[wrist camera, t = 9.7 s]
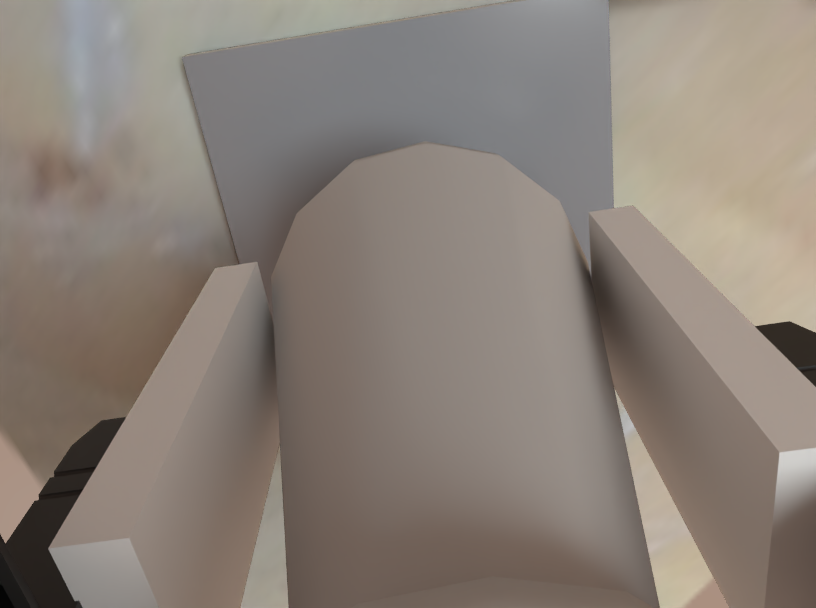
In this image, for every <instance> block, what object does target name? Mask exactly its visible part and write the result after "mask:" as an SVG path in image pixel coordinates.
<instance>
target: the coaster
mask: <svg viewBox="0 0 816 608" xmlns="http://www.w3.org/2000/svg"><path fill="white" fill-rule="evenodd" d="M182 60H183V64H184V67H185V71H186V74H187V78H188V82H189V85H190V89H191V92H192V96H193V100H194V103H195V107H196V110H197V114H198V117H199V121H200V125H201V128H202V132H203V135H204V139H205V142H206V146H207V150H208V153H209V157H210V160H211V164H212V167H213V171H214V175H215V178H216V182H217V185H218V189H219V192H220V196H221V200H222V203H223V207H224V210H225V214H226V218H227V221H228V225H229V228H230V232H231V235H232V239H233V243H234V246H235V250H236V253H237V257H238V260H239V264H246V263H252V262H257V263H258V267H259V270H260V274H261V278H262V282H263V285H264V289H265V293H266V297H267V300H268V304H269V308H270V312H271V315H272V319H273V304H272V285H271V276H272V273H273V271H274V268H275V266H276V263H277V261H278V258H279V256H280V253H281V251H282V248H283V246H284V244H285V241H286V239H287V236H288V234H289V231H290V229H291V226H292V224H293V221H294V219H295V216H296V214H297V213H298V212H299V211H300V210H301V209H302V208H303V207H304V206H305V205H306V204H307V203H308V202H310V201H311V200H312V199H313V198H314V197H315V196H316V195H317V194H318V193H319V192H320V191H321V190H322V189H324V188H325V187H326V186H327V185H328V184H329V183H330V182H331V181H332V180H333V179H334V178H335V177H337V176H338V175H339V174H340V173H341V172H342V171H343V170H344V169H345V168H346V167H347V166H348V165H350V164H351V163H352V162H353V161H354V160H357V159H361V158H364V157H368V156H372V155H376V154H379V153H383V152H387V151H391V150H394V149H398V148H402V147H406V146H410V145H413V144H417V143H421V142H425V141H427V142H433V143H439V144H444V145H450V146H456V147H462V148H468V149H473V150H479V151H485V152H491V153H496V154H498V155H499V156H501V157H502V158H504V159H505V160H506V161H508V162H509V163H510V164H512V165H513V166H514V167H516V168H517V169H518V170H520V171H521V172H522V173H523V174H525V175H526V176H527V177H529V178H530V179H531V180H533V181H534V182H535V183H537V184H538V185H539V186H541V187H542V188H543V189H545V190H546V191H547V192H548V193H550V194H551V195H552V196H554V197H555V198H556V199H558V200H559V201H560V203H561V205H562V207H563V209H564V211H565V214H566V216H567V218H568V220H569V222H570V224H571V227H572V229H573V231H574V233H575V235H576V238H577V240H578V242H579V244H580V246H581V248H582V251H583V253H584V255H585V257H586V259H587V261H588V265H589V270H590V275H591V257H590V233H589V212H592V211H599V210H605V209H612V208H614V199H613V158H612V117H611V76H610V36H609V0H513V1H507V2H501V3H495V4H489V5H483V6H477V7H471V8H464V9H458V10H452V11H446V12H440V13H434V14H428V15H422V16H416V17H410V18H404V19H398V20H392V21H386V22H380V23H374V24H368V25H362V26H356V27H350V28H344V29H338V30H332V31H326V32H320V33H314V34H308V35H302V36H296V37H290V38H284V39H278V40H272V41H266V42H260V43H254V44H248V45H242V46H236V47H229V48H223V49H217V50H211V51H205V52H199V53H193V54H188V55H186V56H184V57H182ZM273 323H274V322H273Z"/></svg>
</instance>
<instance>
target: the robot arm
mask: <svg viewBox="0 0 816 608" xmlns="http://www.w3.org/2000/svg"><path fill="white" fill-rule="evenodd" d="M589 233H590V257H591V280H592V285H593V289H594V294H595V299H596V304H597V309H598V313H599V318H600V323H601V328H602V333H603V337H604V342H605V347H606V352H607V357H608V361H609V366H610V371H611V376H612V381H613V385H614V388H615V390H616V392H617V394H618V396H619V398H620V399H621V401H622V403H623V405H624V407H625V409H626V411H627V413H628V415H629V417H630V419H631V421H632V422H633V424H634V426H635V428H636V430H637V432H638V434H639V436H640V438H641V440H642V442H643V443H644V445H645V447H646V449H647V451H648V453H649V455H650V457H651V459H652V461H653V463H654V464H655V466H656V468H657V470H658V472H659V474H660V476H661V478H662V480H663V482H664V484H665V485H666V487H667V489H668V491H669V493H670V495H671V497H672V499H673V501H674V503H675V505H676V507H677V508H678V510H679V512H680V514H681V516H682V518H683V520H684V522H685V524H686V526H687V528H688V529H689V531H690V533H691V535H692V537H693V539H694V541H695V543H696V545H697V547H698V549H699V550H700V552H701V554H702V556H703V558H704V560H705V562H706V564H707V566H708V568H709V570H710V572H711V573H712V575H713V577H714V579H715V581H716V583H717V585H718V587H719V589H720V591H721V593H722V594H723V596H724V598H725V600H726V602H727V604H728V606H729V608H816V333H815V332H813V331H810V330H808V329H806V328H804V327H801V326H799V325H797V324H794V323H792V322H790V321H789V322H782V323H775V324H768V325H761V326H754V325H753V324H752V323H751V322H750V321H749V320H748V319H747V318H746V317H745V316H744V315H743V314H742V313H741V312H740V311H739V310H738V309H737V308H736V307H735V306H734V305H733V304H732V303H731V302H730V301H729V300H728V299H727V298H726V297H725V296H724V295H723V294H722V293H721V292H720V291H719V290H718V289H717V288H716V287H715V286H714V285H713V284H712V283H711V282H710V281H709V280H708V279H707V278H706V277H705V276H704V275H703V274H702V273H701V272H700V271H699V270H698V269H697V268H696V267H695V266H694V265H693V264H692V263H691V262H690V261H689V260H688V259H687V258H686V257H685V256H684V255H683V254H682V253H681V252H680V251H678V250H677V249H676V248H675V247H674V246H673V245H672V244H671V243H670V242H669V241H668V240H667V239H666V238H665V237H664V236H663V235H662V234H661V233H660V232H659V231H658V230H657V229H656V228H655V227H654V226H653V225H652V224H651V223H650V222H649V221H648V220H647V219H646V218H645V217H644V216H643V215H642V214H641V213H640V212H639V211H638V210H637V209H636V208H635V207H634V206H633V205H632V206H625V207H619V208H612V209H605V210H599V211H592V212H589ZM279 444H280V435H279V416H278V397H277V379H276V360H275V341H274V323H273V319H272V315H271V312H270V308H269V304H268V300H267V297H266V293H265V289H264V285H263V282H262V278H261V274H260V270H259V267H258V263H257V262H252V263H246V264H239V265H232V266H226V267H219V268H215V269H214V271H213V272H212V274H211V276H210V277H209V279H208V281H207V282H206V284H205V286H204V287H203V289H202V291H201V292H200V294H199V296H198V297H197V299H196V301H195V303H194V304H193V306H192V308H191V309H190V311H189V313H188V314H187V316H186V318H185V319H184V321H183V323H182V324H181V326H180V328H179V329H178V331H177V333H176V334H175V336H174V338H173V340H172V341H171V343H170V345H169V346H168V348H167V350H166V351H165V353H164V355H163V356H162V358H161V360H160V361H159V363H158V365H157V366H156V368H155V370H154V371H153V373H152V375H151V376H150V378H149V380H148V382H147V383H146V385H145V387H144V388H143V390H142V392H141V393H140V395H139V397H138V398H137V400H136V402H135V403H134V405H133V407H132V408H131V410H130V412H129V413H128V415H127V417H124V418H117V419H109V420H102V421H101V422H99V423H98V424H97V425H96V426H95V427H93V428H92V429H91V430H90V431H89V432H87V433H86V434H85V435H84V436H83V437H81V438H80V439H79V440H78V441H77V442H75V443H74V444H73V445H72V446H71V448H70V449H69V451H68V452H67V454H66V455H65V457H64V458H63V460H62V461H61V462H60V464H59V465H58V467H57V468H56V470H55V471H54V477H52V478H50V479H49V480H48V482H47V483H46V485H45V486H44V488H43V489H42V491H41V492H40V494H39V500H38V501H34V503H33V504H32V506H31V507H30V509H29V510H28V512H27V513H26V514H25V516H24V517H23V519H22V520H21V522H20V524H19V525H18V526H17V528H16V529H15V531H14V532H13V534H12V535H11V537H10V538H9V540H8V541H7V543H6V544H5V542H4V540H3V539H2V537H1V535H0V608H240V606H241V602H242V598H243V594H244V589H245V585H246V581H247V577H248V573H249V569H250V564H251V560H252V556H253V552H254V548H255V544H256V539H257V535H258V531H259V527H260V523H261V519H262V514H263V510H264V506H265V502H266V498H267V494H268V489H269V485H270V481H271V477H272V473H273V469H274V464H275V460H276V456H277V452H278V448H279Z"/></svg>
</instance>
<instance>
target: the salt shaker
mask: <svg viewBox="0 0 816 608" xmlns="http://www.w3.org/2000/svg"><path fill="white" fill-rule="evenodd" d="M271 285H272V304H273V322H274V341H275V360H276V379H277V397H278V416H279V435H280V453H281V472H282V491H283V509H284V528H285V547H286V566H287V584H288V603H289V608H660V606H659V601H658V597H657V592H656V587H655V582H654V577H653V573H652V568H651V563H650V558H649V553H648V549H647V544H646V539H645V534H644V529H643V525H642V520H641V515H640V510H639V505H638V501H637V496H636V491H635V486H634V481H633V477H632V472H631V467H630V462H629V457H628V453H627V448H626V443H625V438H624V433H623V429H622V424H621V419H620V414H619V409H618V405H617V400H616V395H615V390H614V385H613V381H612V376H611V371H610V366H609V361H608V357H607V352H606V347H605V342H604V337H603V333H602V328H601V323H600V318H599V313H598V309H597V304H596V299H595V294H594V289H593V285H592V280H591V275H590V270H589V265H588V261H587V259H586V257H585V255H584V253H583V251H582V248H581V246H580V244H579V242H578V240H577V238H576V235H575V233H574V231H573V229H572V227H571V224H570V222H569V220H568V218H567V216H566V214H565V211H564V209H563V207H562V205H561V203H560V201H559V200H558V199H556V198H555V197H554V196H552V195H551V194H550V193H548V192H547V191H546V190H545V189H543V188H542V187H541V186H539V185H538V184H537V183H535V182H534V181H533V180H531V179H530V178H529V177H527V176H526V175H525V174H523V173H522V172H521V171H520V170H518V169H517V168H516V167H514V166H513V165H512V164H510V163H509V162H508V161H506V160H505V159H504V158H502V157H501V156H499V155H498V154H496V153H491V152H485V151H479V150H473V149H468V148H462V147H456V146H450V145H444V144H439V143H433V142H427V141H425V142H421V143H417V144H413V145H410V146H406V147H402V148H398V149H394V150H391V151H387V152H383V153H379V154H376V155H372V156H368V157H364V158H361V159H357V160H354V161H353V162H352V163H351V164H350V165H348V166H347V167H346V168H345V169H344V170H343V171H342V172H341V173H340V174H339V175H338V176H337V177H335V178H334V179H333V180H332V181H331V182H330V183H329V184H328V185H327V186H326V187H325V188H324V189H322V190H321V191H320V192H319V193H318V194H317V195H316V196H315V197H314V198H313V199H312V200H311V201H310V202H308V203H307V204H306V205H305V206H304V207H303V208H302V209H301V210H300V211H299V212H298V213H297V214H296V216H295V219H294V221H293V224H292V226H291V229H290V231H289V234H288V236H287V239H286V241H285V244H284V246H283V248H282V251H281V253H280V256H279V258H278V261H277V263H276V266H275V268H274V271H273V273H272V276H271Z"/></svg>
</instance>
